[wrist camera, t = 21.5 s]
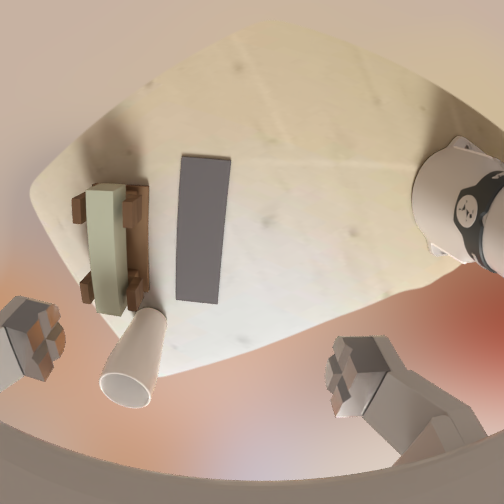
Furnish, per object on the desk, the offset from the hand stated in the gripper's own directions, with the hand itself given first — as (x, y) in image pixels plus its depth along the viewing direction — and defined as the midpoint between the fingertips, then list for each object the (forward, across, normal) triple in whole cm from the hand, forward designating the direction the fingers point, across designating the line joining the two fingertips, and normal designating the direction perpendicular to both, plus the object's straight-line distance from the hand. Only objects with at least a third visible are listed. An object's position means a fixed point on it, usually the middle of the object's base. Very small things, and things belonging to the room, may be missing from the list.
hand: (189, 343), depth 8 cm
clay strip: (+28, +14, +10) cm, 33 cm away
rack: (+31, +14, +10) cm, 35 cm away
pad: (+31, +3, +8) cm, 32 cm away
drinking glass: (+31, +10, +23) cm, 40 cm away
